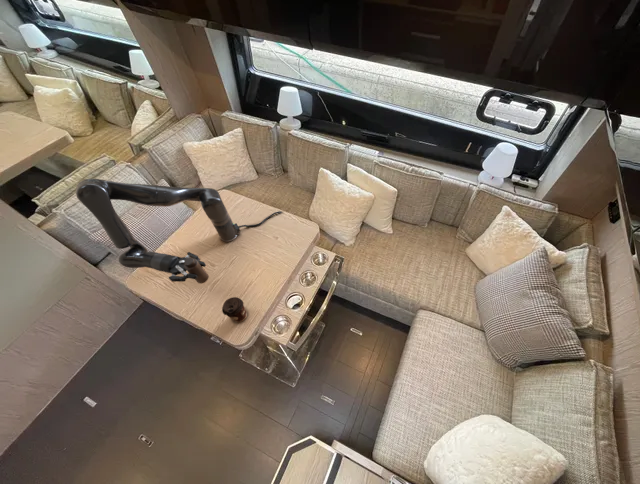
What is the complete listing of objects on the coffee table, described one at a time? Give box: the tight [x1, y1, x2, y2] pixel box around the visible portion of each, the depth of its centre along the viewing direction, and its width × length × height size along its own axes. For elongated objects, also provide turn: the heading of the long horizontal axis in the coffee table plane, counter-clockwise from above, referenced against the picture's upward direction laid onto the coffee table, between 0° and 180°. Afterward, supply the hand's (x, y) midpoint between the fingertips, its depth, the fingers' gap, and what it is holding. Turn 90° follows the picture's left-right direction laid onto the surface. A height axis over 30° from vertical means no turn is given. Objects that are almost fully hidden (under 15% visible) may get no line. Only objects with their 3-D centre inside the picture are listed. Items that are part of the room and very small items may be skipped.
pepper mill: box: [184, 258, 210, 284], centre depth 118 cm, size 5×5×14 cm
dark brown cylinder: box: [221, 296, 248, 323], centre depth 123 cm, size 9×8×13 cm
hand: (200, 270), depth 117 cm, fingers closed on pepper mill, 5 cm apart
